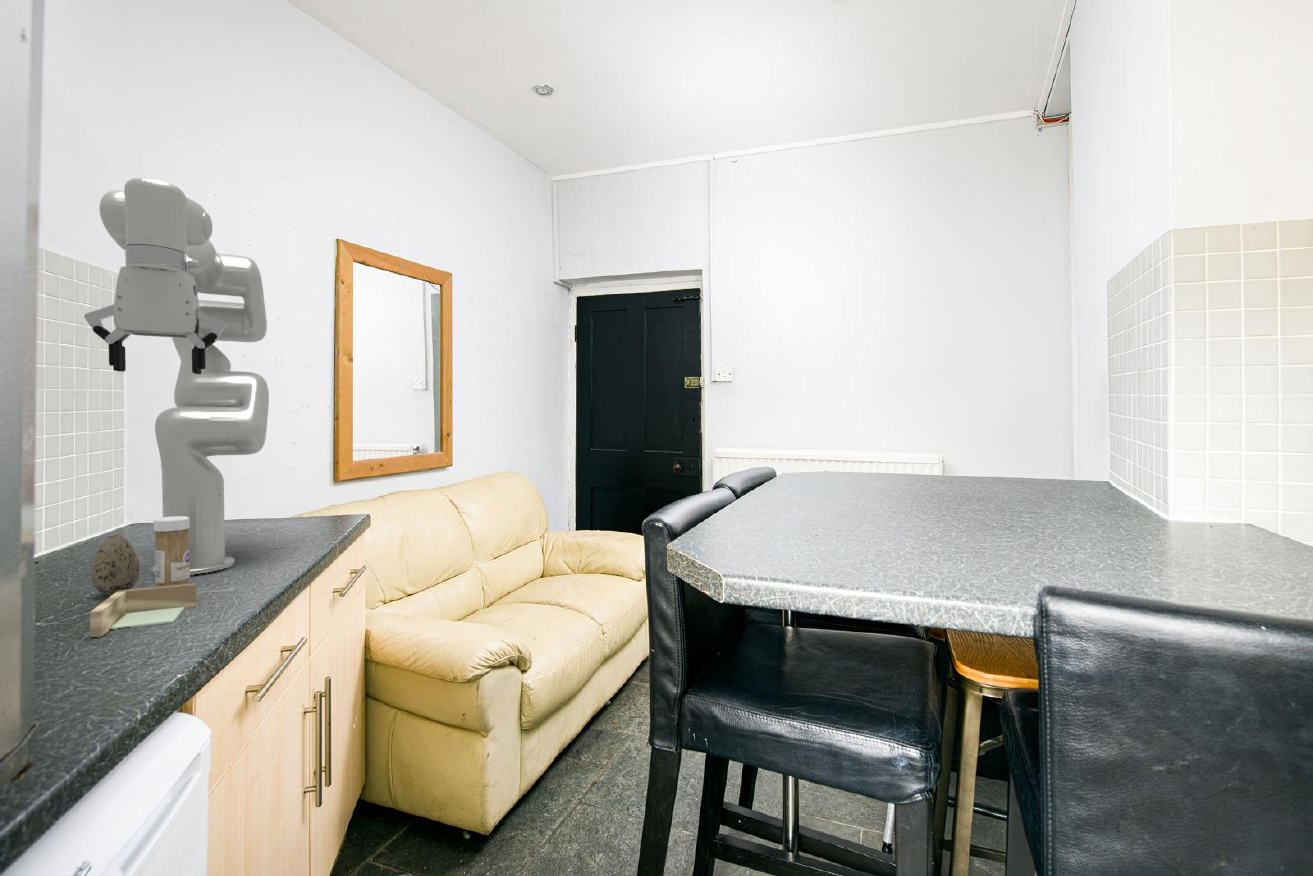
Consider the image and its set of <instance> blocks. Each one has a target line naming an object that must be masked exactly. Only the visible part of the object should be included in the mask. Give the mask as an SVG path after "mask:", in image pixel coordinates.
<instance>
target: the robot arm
mask: <svg viewBox="0 0 1313 876" xmlns="http://www.w3.org/2000/svg"><path fill="white" fill-rule="evenodd" d="M98 208H99V215H100V219H101V222H102V224H103V226H104V228H105V230H106V232H107V233H108V235H109V236H110V237H111V238H112V239H113V241H114V242H115V243H116V244H117V245H118V246H119V248H121V249H122V250H124V251H125V266H121V267H120V268H119V272H118V275H117V279H116V286H115V293H114V301H113V302H114V303H113V304H111V305H108V306H105V307H102V308H99V309H96V310H93V311H90V312H87V313H85V314H84V316H83V317H84V320H86V322H87V324H88V325H89V327H91V329H92V331H93V333H95V334H96V335H97V336H98V337H99V338H100V339H102V341H105V343H106V344H108V364H109V366H110V367H113V368H112V369H113V372H122V373H124V372H126V369H127V366H126V347H125V346H124V345H123V342H124V341H125V340H127V339H128V338H129V337H130V336H131V335H134V336H144V337H159V338H161V337H163V338H172V341H173V344H174V345H173V346H174V347H175V349H176V352H177V355H178V357H179V358H180V364H179V365H180V367H179V370H178V375H177V379H176V381H175V382H176V383H175V387H174V392H173V393H174V395H173V399H174V400H173V401H174V403H175V406H176V407H172V408H168V409H165V410H163V411H162V412H161V413H159V414H158V415H157V416H156V419H155V423H154V433H155V439H156V443H157V446H158V447H157V448H158V453H159V458H160V466H161V467H160V469H161V488H162V490H161V491H162V492H161V493H162V495H161V496H162V497H161V498H162V502H161V503H162V518H163V517H172V516H186V517H189V521H190V527H189V528H188V530H189V531H188V544H189V569H190V575H191V576H195V575H194V574H199V573H205V572H211V573H213V572H212V571H216V570H219V569H222V568H227V569H229V568H228V567H230V566H232V565H233V564H234V565H235V558H234V557H232V556H226V547H225V543H226V542H225V539H226V538H225V535H226V534H225V484H224V483H225V481H224V479H225V478H224V476H223V474H222V473H221V471H220V470H219V468H218V467H217V466H216V465H214V464H213V463H212V461H210V459H208V457H214V456H246V455H249V456H250V455H254V454H257V453H259V452H260V451H261V450H262V449H263V448H264V445H265V443H266V440H267V439H266V437H267V427H268V416H269V404H270V403H269V402H270V399H269V398H270V393H269V387H268V384H267V381H266V380H265V378H264V377H263V376H261V374H259V373H256V372H252V371H251V372H250V371H241V370H239V371H238V370H237V371H235V370H231V369H232V364H231V361H230V359H229V358H228V356H226V355H225V354H224V352H223V351H222V350H221V349H219V348H218V347H217V346H215V345H214V343H216V342H217V341H221V342H238V343H258V342H260V341H262V340H263V339H264V338H265V337H266V335H267V329H268V323H267V322H268V321H267V313H266V305H265V304H266V303H265V297H264V294H265V293H264V287H263V281H262V276H261V272H260V269H259V267H258V265H257V263H256V262H255V260H254V259H252V258H251V257H248V256H243V255H236V254H235V255H234V254H226V253H225V254H224V253H218V252H217V250H216V248H215V246H214V244H213V243H212V241H210V238H211V236H213V235H212V234H213V221H212V219H211V216H210V215H209V213H207V211H206V210H205V208H204V207H203V206H201V204H199V203H198V202H197V201H195V200H193V199H191V198H189V197H187V196H186V193H185V192H184V191H183V190H182V189H181V188H180V187H179V186H177V185H175V184H172V183H170V182H167V181H164V180H160V179H155V178H148V177H135V178H131V179H129V180H127V181H126V183H125V185H124V190H120V189H119V190H109V191H108V192H106V193H105V194H104V195H103V196H102V197H101V199H100V202H99V206H98ZM198 293H199V294H204V295H215V296H229V297H239V298H242V299H243V303H242V302H232V301H231V302H230V301H219V300H209V299H208V300H205V299H199V296H198ZM111 317H113V322H114V323H113V324H114V326H115V329H114V330H112V331H111V332H110V331H109V330H108V329H107V328H105V326H104V325H103V323H102V321H103V320H104V319H107V318H111ZM234 565H233V566H234ZM233 566H232V567H233ZM230 568H231V567H230ZM216 572H217V571H216ZM152 574H154V575H155V566H154V567H153V568H152ZM199 575H200V574H199Z"/></svg>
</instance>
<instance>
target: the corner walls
mask: <svg viewBox="0 0 1313 876" xmlns="http://www.w3.org/2000/svg"><path fill="white" fill-rule="evenodd" d="M197 605H198V583H197V582H195V583H193V582H192V583H189V584H181V585H170V586H159V587H156V586H152V587H151V586H150V587H139V588H131V589H128V590H118V591H117V592H115V593H114V594H113V595H109V597H108V598H107V599H105V600H104V601H103V602H101V603H100V604H99V605H97V606H96V607H95V608H94V609H93V610H91V611H89V638H90V637H98V636H102V637H103V635H104V634H105V633H106V632H107V633H108V632H109V631H110V630H109V629H110V628H111V627H112V626H113V625H114V624H115V623H116V622H117V621H118V620H119V619H121V618H122V617H123V616H124V615H125V614H126V613H133V612H142V611H152V610H161V609H170V608H179V607H185V609H190V608H196V607H197ZM107 633H106V634H107ZM106 634H105V635H106ZM105 635H104V636H105ZM98 638H99V637H98Z"/></svg>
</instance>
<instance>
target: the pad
mask: <svg viewBox="0 0 1313 876" xmlns="http://www.w3.org/2000/svg"><path fill="white" fill-rule="evenodd" d="M185 609H186V608H185V607H179V608H170V609H161V610H152V611H142V612H133V613H126V614H125V615H124V616H123V617H122V618H121V619H119V620H118V621H117V622H116V623H115V624H114V625H113V626H112V627H111V628H110V629H114V630H119V629H118V628H122V629H124V628H123V627H131V628H137V627H138V628H139V627H146V626H154V625H163V624H171V623H172V624H173V623H174V622H175V621H176V620H177V619H178V618H179V616H180V615H181V614H182V612H183V611H184V610H185Z"/></svg>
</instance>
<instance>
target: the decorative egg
mask: <svg viewBox="0 0 1313 876" xmlns="http://www.w3.org/2000/svg"><path fill="white" fill-rule="evenodd" d="M90 575H91V581H92V584H93V586H94V588H95V589H96V590H97V591H99V592H100V593H102V594H104V595H106V596H112V595H113V594H114V593H115V592H117V591H118V590H128V589H133V587H134V586H135V585H136V583H137V581H138V579H139V577H140V564H139V559H138V556H137V554H136V551H135V550H134V547H133V546H132V544H131V543H130V542H129V541H128V539H126V538H125V537H124V536H122V535H119V534H117V535H116V534H114V535H110V536H108V537H107V538H105V540H103V542H102V543H101V544H100V546H99V547H98V549H97V551H96V554H95V556H94V558H93V562H92V566H91V574H90Z"/></svg>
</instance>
